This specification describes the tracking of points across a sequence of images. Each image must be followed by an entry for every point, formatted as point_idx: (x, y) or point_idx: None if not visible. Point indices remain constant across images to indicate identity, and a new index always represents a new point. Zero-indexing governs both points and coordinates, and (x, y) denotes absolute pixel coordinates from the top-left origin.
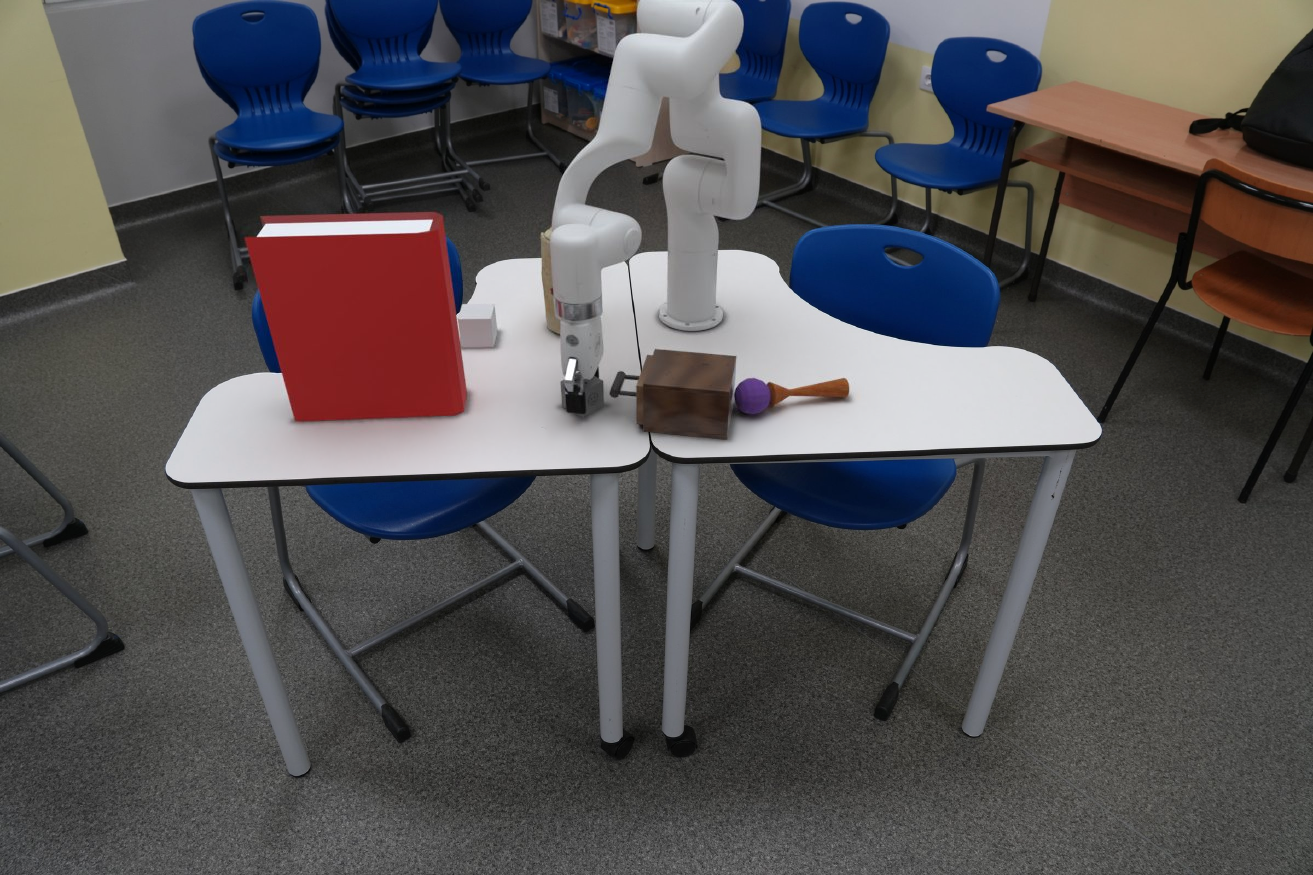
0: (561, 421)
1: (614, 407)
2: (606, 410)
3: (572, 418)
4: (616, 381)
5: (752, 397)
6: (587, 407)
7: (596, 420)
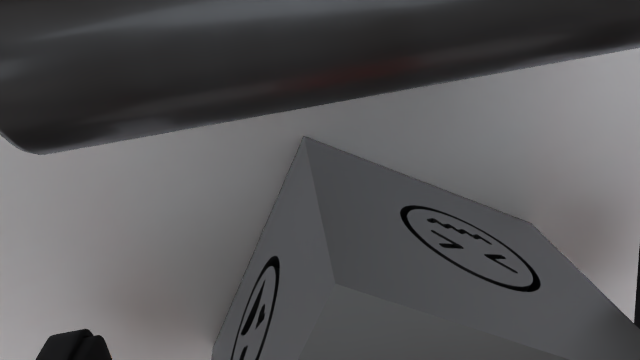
0: None
1: None
2: None
3: None
4: (468, 5)
5: None
6: (516, 241)
7: (539, 109)
